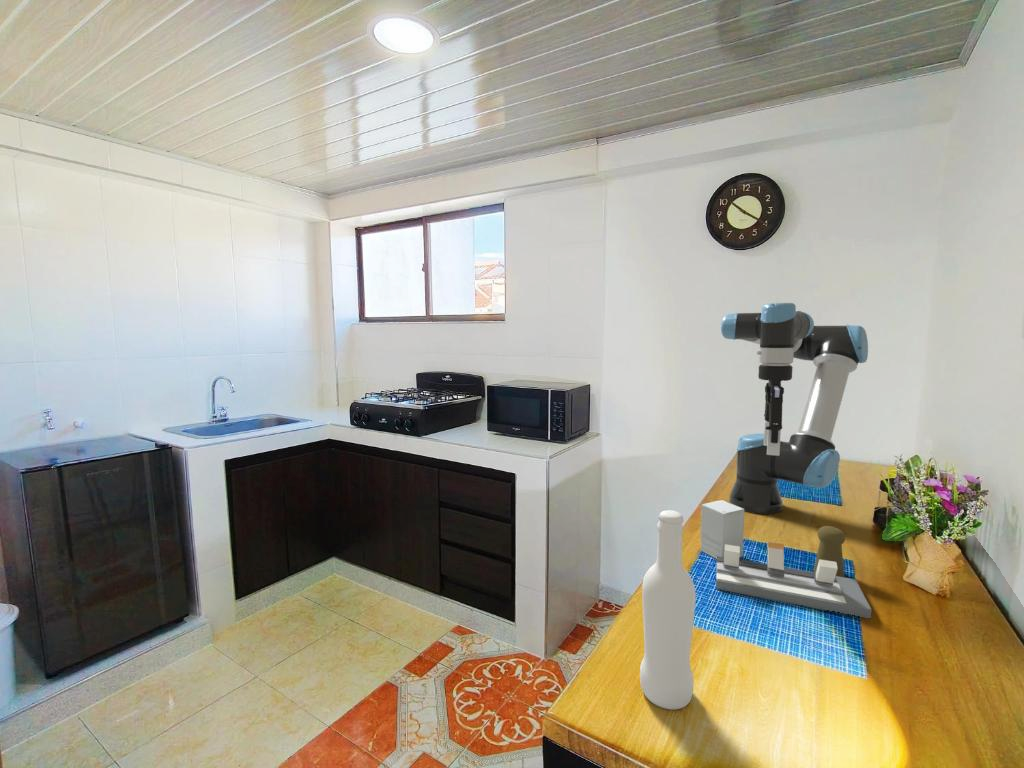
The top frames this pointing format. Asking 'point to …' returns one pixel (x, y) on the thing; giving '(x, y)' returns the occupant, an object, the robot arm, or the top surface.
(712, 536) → the supplement box
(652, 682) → the bottle
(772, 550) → the paddle
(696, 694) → the top surface
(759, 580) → the breaker panel
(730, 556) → the white block
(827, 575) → the white block
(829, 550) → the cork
